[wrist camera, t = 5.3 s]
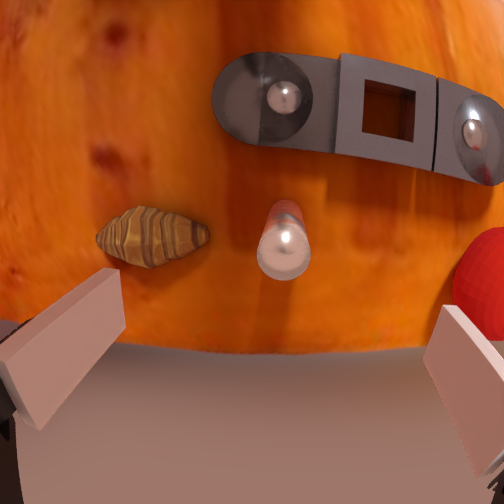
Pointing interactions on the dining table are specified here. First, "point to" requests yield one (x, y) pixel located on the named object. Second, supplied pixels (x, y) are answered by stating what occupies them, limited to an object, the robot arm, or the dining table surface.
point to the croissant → (151, 237)
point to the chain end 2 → (421, 122)
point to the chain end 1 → (284, 101)
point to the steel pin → (284, 242)
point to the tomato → (482, 283)
